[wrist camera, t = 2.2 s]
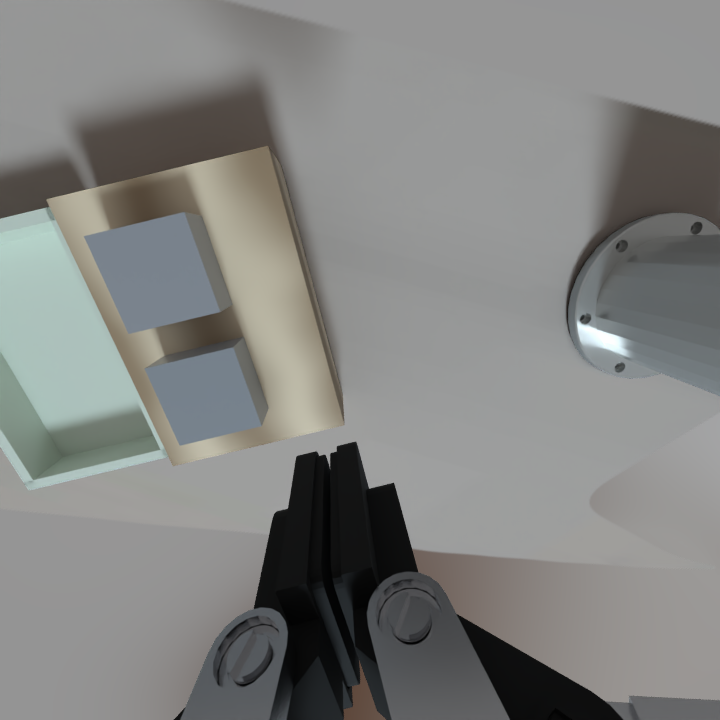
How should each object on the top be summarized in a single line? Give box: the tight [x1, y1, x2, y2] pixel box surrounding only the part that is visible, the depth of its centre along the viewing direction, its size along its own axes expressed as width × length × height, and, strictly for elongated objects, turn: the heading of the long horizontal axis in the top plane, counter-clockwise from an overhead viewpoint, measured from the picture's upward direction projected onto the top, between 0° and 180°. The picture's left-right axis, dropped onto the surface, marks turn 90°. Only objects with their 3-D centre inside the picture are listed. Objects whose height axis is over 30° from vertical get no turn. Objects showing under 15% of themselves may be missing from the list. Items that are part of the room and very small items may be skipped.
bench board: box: [46, 146, 344, 466], centre depth 23 cm, size 12×17×5 cm
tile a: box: [145, 337, 269, 446], centre depth 21 cm, size 5×5×2 cm
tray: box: [0, 207, 168, 490], centre depth 24 cm, size 11×17×4 cm, turn 13°
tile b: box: [84, 212, 233, 334], centre depth 19 cm, size 5×5×2 cm
